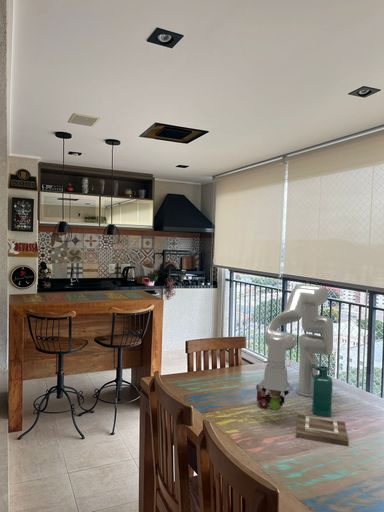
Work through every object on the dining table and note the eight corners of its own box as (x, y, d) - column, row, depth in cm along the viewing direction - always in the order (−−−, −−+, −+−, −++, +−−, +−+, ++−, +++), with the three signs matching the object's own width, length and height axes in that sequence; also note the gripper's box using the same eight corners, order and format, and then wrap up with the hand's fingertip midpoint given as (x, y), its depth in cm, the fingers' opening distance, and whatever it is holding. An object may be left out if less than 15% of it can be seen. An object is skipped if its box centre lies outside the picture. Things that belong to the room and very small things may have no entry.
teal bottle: (330, 410, 185) (332, 365, 185) (331, 417, 177) (333, 370, 177) (309, 407, 189) (311, 362, 188) (309, 414, 181) (311, 367, 180)
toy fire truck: (282, 410, 184) (283, 388, 184) (256, 408, 185) (256, 386, 185) (280, 404, 191) (281, 383, 191) (255, 402, 192) (256, 381, 192)
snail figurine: (264, 406, 174) (266, 380, 173) (278, 406, 175) (280, 380, 174) (268, 412, 169) (269, 385, 168) (282, 412, 169) (284, 385, 168)
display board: (297, 418, 176) (297, 412, 175) (344, 426, 170) (344, 419, 170) (295, 437, 158) (296, 429, 158) (348, 446, 152) (348, 438, 152)
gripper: (255, 363, 169) (254, 404, 170) (295, 368, 164) (294, 410, 165) (257, 358, 176) (256, 397, 177) (296, 363, 171) (295, 403, 172)
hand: (275, 403), depth 171 cm, fingers closed on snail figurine, 5 cm apart
